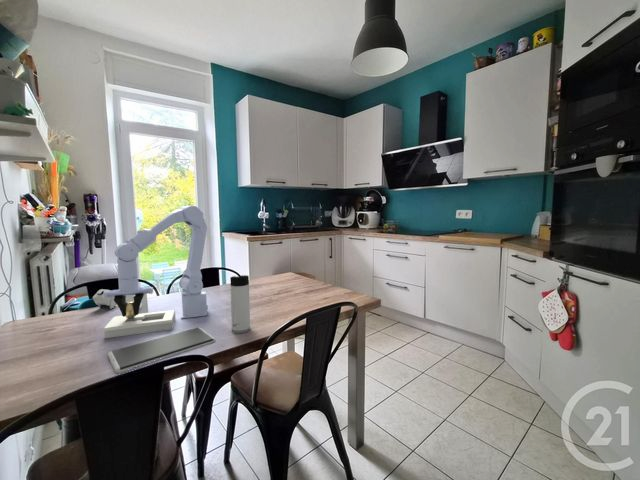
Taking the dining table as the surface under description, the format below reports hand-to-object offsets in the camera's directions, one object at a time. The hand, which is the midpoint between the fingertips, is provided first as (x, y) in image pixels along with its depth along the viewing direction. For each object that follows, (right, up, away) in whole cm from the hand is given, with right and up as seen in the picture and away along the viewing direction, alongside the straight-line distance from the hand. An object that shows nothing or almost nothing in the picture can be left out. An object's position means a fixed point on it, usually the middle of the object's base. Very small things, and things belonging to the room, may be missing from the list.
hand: (130, 314), depth 102 cm
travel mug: (+39, -6, 0) cm, 40 cm away
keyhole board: (+3, -5, +2) cm, 6 cm away
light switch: (-6, -4, +12) cm, 14 cm away
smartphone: (+19, -7, -13) cm, 25 cm away
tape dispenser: (-25, -3, +22) cm, 33 cm away
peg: (0, -5, 0) cm, 5 cm away
